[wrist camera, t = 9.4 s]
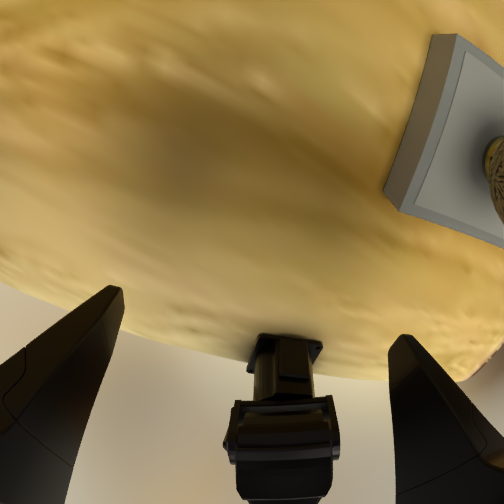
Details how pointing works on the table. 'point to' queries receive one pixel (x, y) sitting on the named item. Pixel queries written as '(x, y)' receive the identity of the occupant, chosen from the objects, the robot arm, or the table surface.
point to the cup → (495, 172)
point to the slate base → (451, 141)
